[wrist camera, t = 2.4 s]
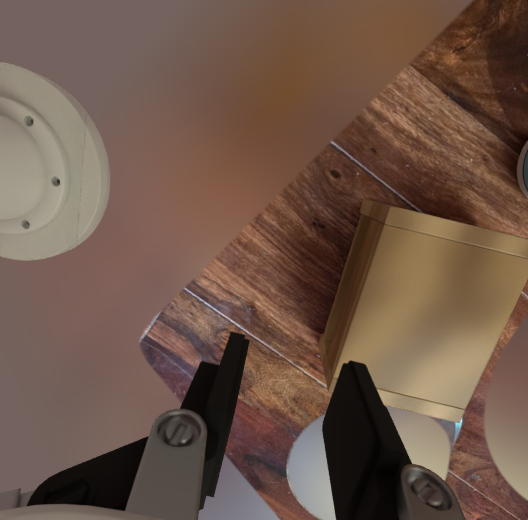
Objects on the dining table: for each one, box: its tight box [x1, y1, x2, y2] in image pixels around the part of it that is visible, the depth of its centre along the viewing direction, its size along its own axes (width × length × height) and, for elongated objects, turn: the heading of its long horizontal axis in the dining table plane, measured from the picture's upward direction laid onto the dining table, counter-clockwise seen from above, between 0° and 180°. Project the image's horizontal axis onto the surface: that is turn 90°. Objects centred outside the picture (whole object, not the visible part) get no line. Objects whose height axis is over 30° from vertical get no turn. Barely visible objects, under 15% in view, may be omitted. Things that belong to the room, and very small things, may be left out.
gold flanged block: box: [318, 199, 528, 423], centre depth 25 cm, size 10×14×7 cm
